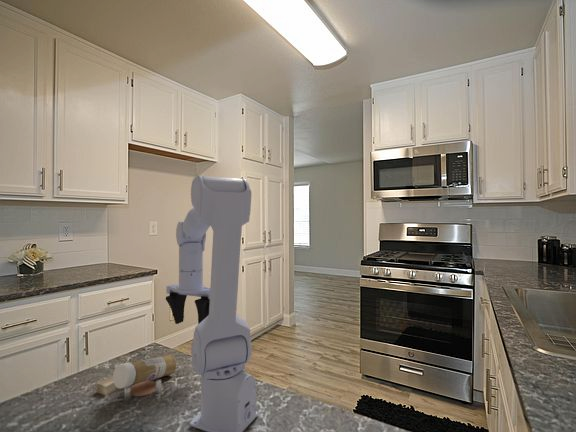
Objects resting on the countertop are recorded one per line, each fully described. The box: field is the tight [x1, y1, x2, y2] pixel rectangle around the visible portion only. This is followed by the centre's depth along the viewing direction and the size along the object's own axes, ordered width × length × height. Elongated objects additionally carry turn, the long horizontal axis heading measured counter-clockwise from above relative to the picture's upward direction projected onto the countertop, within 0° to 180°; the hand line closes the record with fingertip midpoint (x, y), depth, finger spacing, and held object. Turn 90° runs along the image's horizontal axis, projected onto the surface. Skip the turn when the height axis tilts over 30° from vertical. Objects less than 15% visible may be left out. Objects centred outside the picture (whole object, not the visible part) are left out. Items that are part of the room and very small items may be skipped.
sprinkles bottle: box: [112, 354, 177, 390], centre depth 69 cm, size 5×5×13 cm
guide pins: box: [123, 378, 162, 400], centre depth 66 cm, size 9×5×2 cm, turn 65°
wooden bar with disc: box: [96, 375, 156, 397], centre depth 69 cm, size 11×11×2 cm
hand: (190, 324), depth 78 cm, fingers open, 7 cm apart
